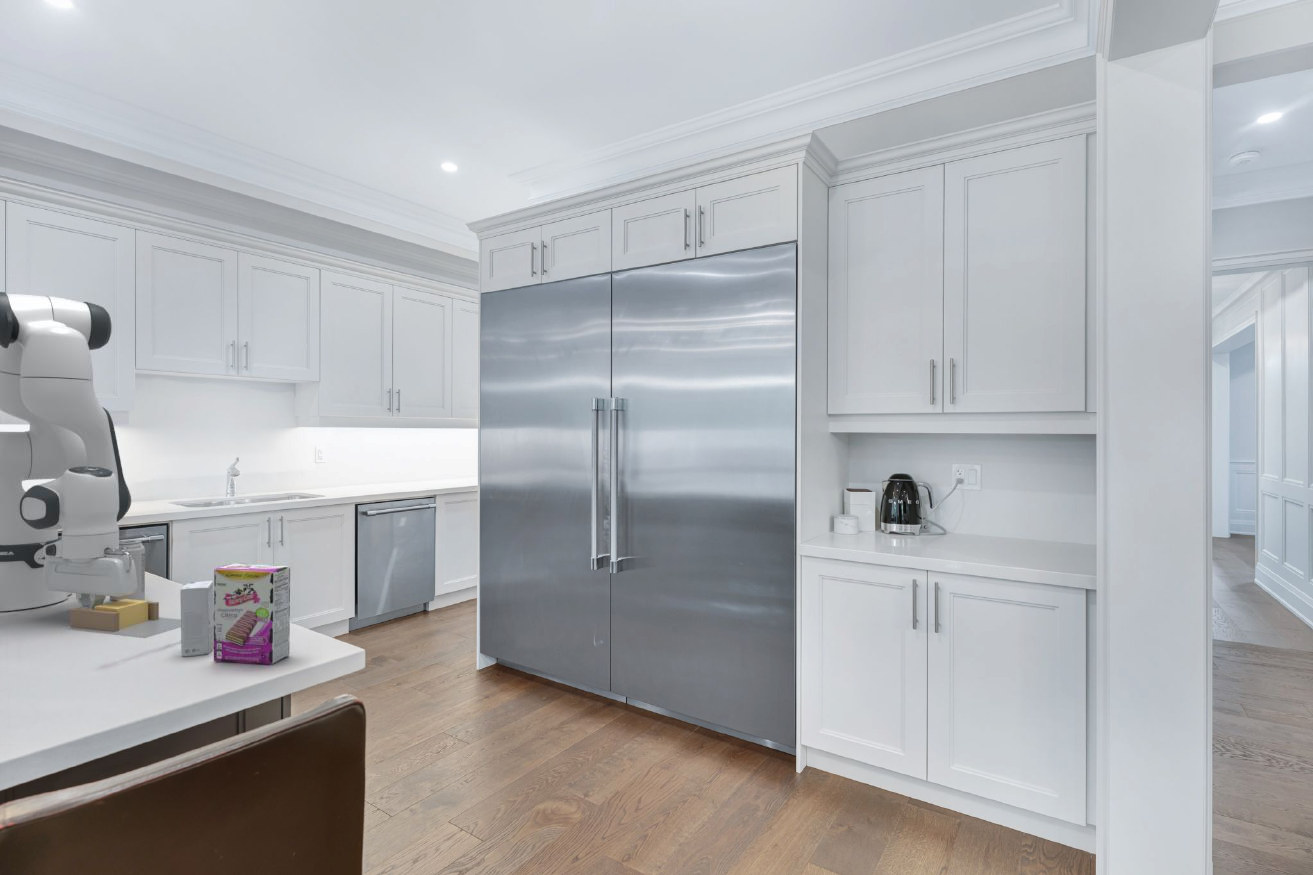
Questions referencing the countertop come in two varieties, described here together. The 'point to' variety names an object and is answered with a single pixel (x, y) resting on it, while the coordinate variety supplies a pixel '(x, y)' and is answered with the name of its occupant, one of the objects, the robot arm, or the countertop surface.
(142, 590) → the energy drink can
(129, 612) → the ochre block
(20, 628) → the countertop surface
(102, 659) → the countertop surface
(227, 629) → the candy bar box
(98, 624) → the chute
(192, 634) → the skincare box
